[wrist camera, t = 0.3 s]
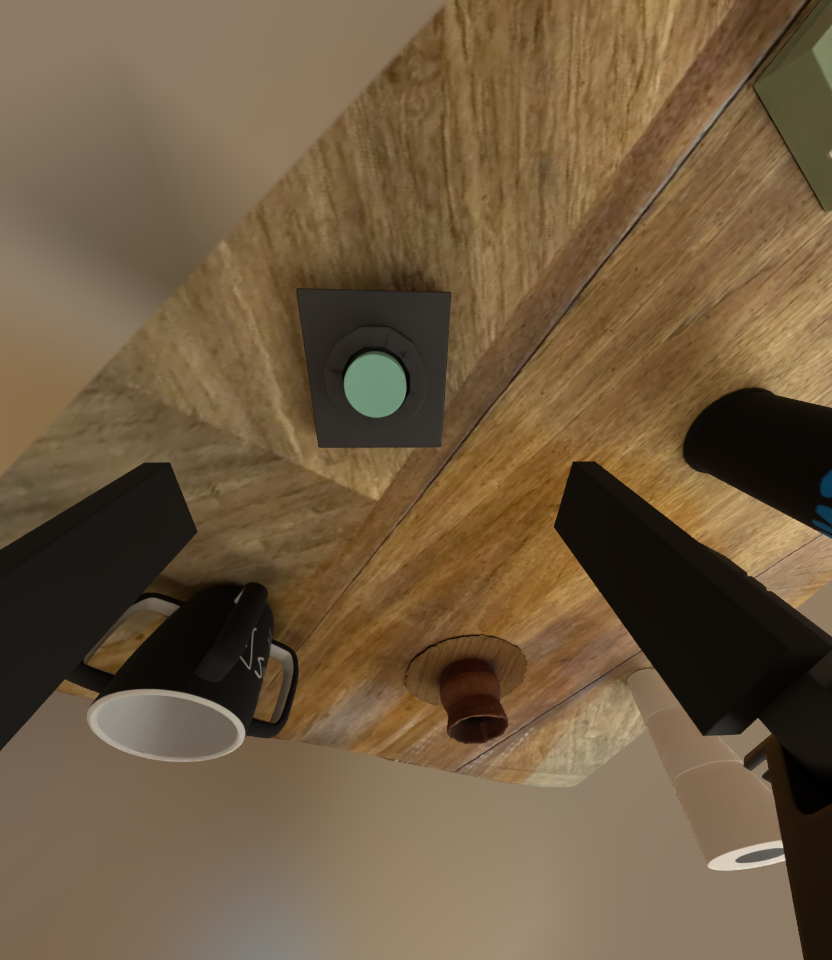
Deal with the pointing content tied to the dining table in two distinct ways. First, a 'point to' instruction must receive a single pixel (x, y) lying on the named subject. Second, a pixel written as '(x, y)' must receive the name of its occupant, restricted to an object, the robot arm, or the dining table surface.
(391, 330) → the button base
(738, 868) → the cream tapered cylinder
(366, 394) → the round green button
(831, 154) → the dial panel
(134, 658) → the mug
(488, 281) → the dining table surface
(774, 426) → the aerosol can
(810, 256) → the dining table surface
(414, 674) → the ceramic pot
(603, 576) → the robot arm
